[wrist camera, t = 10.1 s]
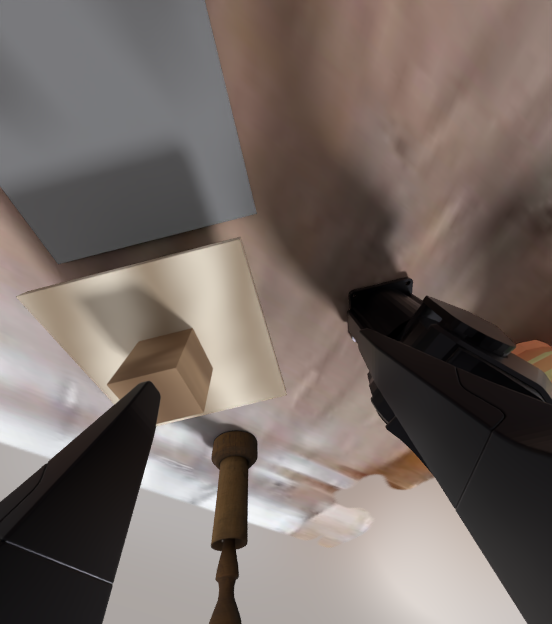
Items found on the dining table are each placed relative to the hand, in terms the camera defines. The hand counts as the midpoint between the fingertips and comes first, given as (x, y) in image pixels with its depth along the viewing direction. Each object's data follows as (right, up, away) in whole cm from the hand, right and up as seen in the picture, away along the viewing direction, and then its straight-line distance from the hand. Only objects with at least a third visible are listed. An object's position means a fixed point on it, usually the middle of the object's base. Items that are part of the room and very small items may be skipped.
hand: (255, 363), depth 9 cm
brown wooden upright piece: (-5, -18, +25) cm, 31 cm away
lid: (-7, -1, +8) cm, 10 cm away
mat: (-11, +16, +5) cm, 20 cm away
